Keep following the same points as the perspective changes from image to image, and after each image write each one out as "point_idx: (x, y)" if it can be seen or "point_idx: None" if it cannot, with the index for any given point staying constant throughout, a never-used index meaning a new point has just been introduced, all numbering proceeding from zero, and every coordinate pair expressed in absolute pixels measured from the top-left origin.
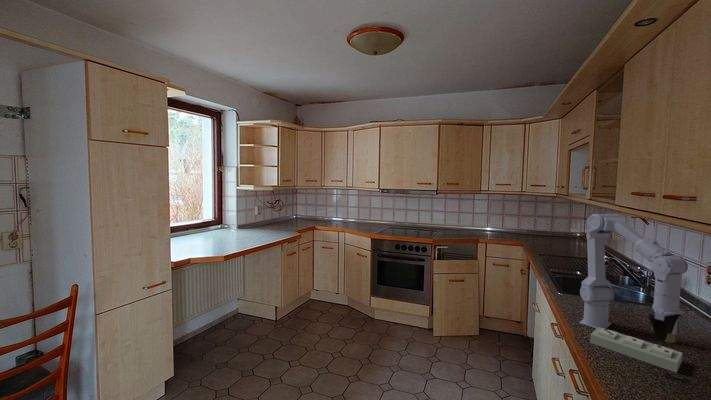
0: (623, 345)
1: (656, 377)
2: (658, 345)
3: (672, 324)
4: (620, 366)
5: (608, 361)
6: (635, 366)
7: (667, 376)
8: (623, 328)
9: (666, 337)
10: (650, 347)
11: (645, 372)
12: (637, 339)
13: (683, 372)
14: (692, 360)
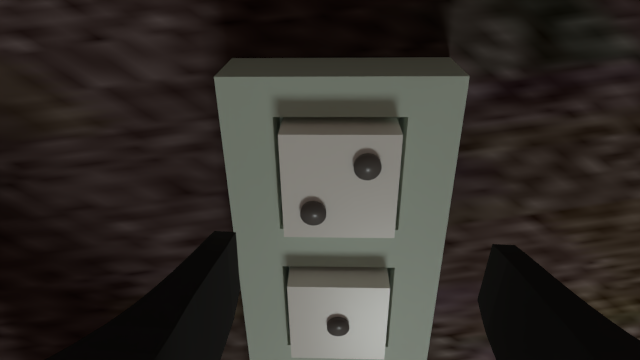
0: (429, 336)
1: (614, 131)
2: (303, 219)
3: (192, 313)
4: (597, 274)
5: None
6: (539, 228)
7: (552, 89)
8: (47, 346)
9: (515, 264)
10: (321, 238)
11: (585, 182)
12: (306, 315)
13: (405, 25)
14: (130, 8)
